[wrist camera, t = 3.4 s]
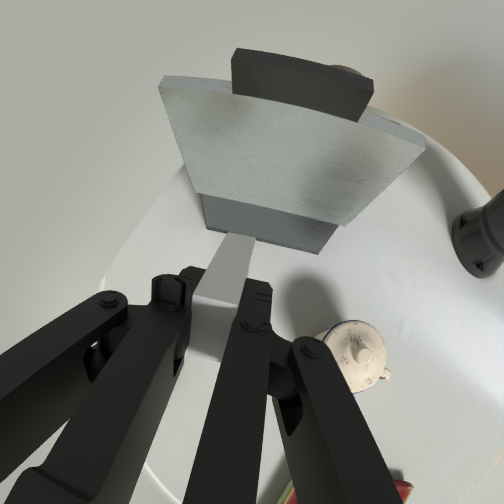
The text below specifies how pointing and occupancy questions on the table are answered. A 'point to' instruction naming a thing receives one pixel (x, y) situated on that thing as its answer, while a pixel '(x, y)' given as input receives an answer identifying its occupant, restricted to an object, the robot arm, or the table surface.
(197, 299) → the robot arm
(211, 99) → the lid
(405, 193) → the table surface
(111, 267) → the table surface
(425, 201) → the table surface
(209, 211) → the grey storage box
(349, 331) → the teacup with lid
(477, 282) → the table surface
